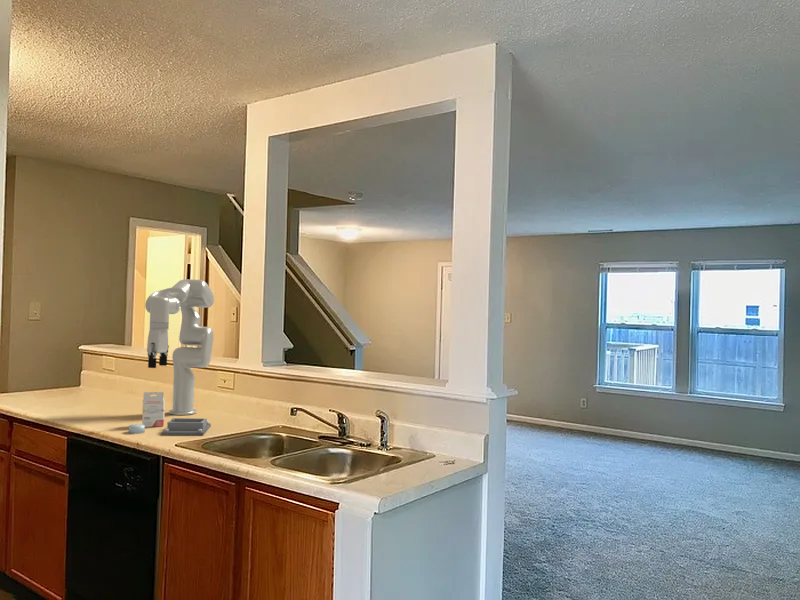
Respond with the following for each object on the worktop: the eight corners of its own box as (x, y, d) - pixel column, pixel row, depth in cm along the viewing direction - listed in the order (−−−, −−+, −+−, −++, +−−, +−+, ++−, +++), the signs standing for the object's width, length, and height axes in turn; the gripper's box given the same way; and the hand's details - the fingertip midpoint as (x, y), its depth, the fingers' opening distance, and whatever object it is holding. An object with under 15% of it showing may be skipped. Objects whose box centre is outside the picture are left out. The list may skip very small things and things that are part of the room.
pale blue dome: (131, 431, 258) (131, 424, 258) (146, 431, 259) (146, 424, 259) (126, 434, 252) (127, 427, 252) (142, 434, 253) (142, 427, 253)
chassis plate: (172, 425, 271) (172, 416, 271) (210, 426, 273) (211, 416, 273) (161, 435, 251) (162, 424, 251) (203, 435, 254) (203, 425, 254)
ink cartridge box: (164, 424, 274) (165, 390, 274) (163, 426, 269) (164, 392, 269) (143, 424, 271) (144, 390, 271) (141, 427, 266) (143, 392, 267)
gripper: (160, 325, 276) (158, 364, 276) (140, 326, 259) (138, 368, 259) (176, 325, 275) (175, 365, 275) (158, 327, 258) (156, 369, 258)
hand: (157, 366), depth 267 cm, fingers open, 9 cm apart
